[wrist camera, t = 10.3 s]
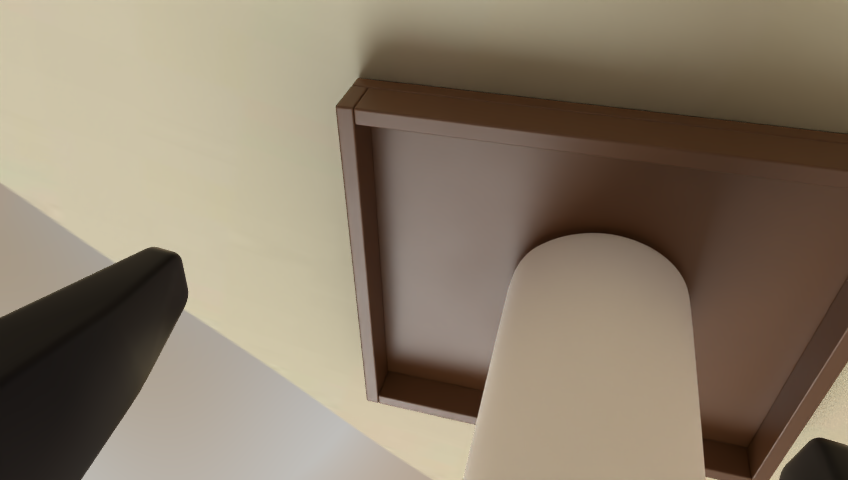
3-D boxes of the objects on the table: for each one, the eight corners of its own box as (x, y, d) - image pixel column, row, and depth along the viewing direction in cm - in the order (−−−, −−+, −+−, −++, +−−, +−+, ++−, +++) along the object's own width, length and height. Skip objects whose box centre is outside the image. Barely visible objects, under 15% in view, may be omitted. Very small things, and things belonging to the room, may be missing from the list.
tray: (937, 143, 17) (965, 185, 16) (756, 446, 27) (762, 490, 26) (357, 76, 21) (334, 106, 19) (380, 366, 31) (366, 400, 29)
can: (566, 194, 21) (511, 545, 12) (731, 281, 21) (794, 680, 13) (481, 304, 25) (395, 622, 16) (620, 374, 26) (608, 721, 17)
